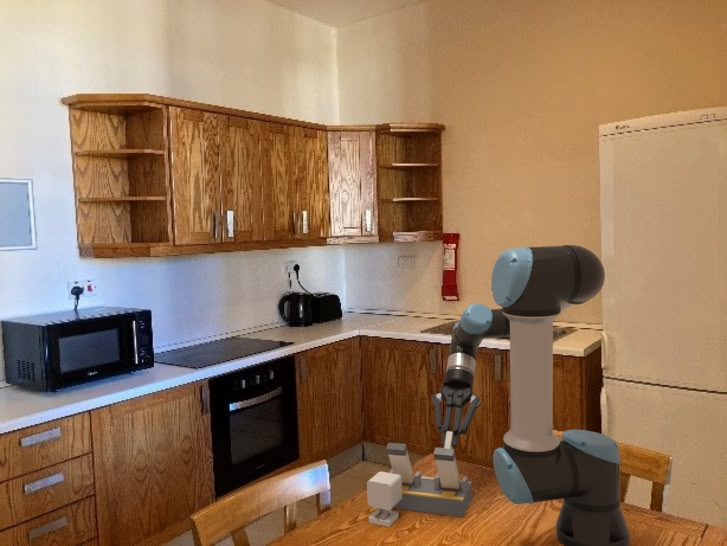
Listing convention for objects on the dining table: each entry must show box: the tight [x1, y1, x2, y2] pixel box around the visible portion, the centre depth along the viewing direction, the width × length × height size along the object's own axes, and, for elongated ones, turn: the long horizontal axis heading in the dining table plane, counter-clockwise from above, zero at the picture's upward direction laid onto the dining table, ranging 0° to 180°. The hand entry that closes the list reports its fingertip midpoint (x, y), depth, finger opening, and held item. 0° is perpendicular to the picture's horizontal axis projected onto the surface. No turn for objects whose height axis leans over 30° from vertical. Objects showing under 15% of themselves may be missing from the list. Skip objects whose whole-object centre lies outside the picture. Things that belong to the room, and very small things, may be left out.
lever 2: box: [433, 447, 462, 490], centre depth 152 cm, size 5×2×13 cm
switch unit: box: [388, 468, 473, 518], centre depth 158 cm, size 20×11×7 cm, turn 69°
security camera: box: [366, 471, 402, 528], centre depth 150 cm, size 6×7×10 cm
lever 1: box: [385, 442, 414, 485], centre depth 157 cm, size 5×2×13 cm, turn 69°
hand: (447, 458), depth 152 cm, fingers closed
